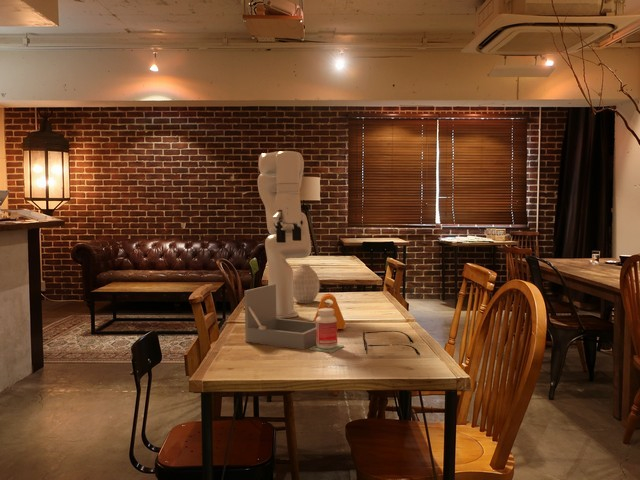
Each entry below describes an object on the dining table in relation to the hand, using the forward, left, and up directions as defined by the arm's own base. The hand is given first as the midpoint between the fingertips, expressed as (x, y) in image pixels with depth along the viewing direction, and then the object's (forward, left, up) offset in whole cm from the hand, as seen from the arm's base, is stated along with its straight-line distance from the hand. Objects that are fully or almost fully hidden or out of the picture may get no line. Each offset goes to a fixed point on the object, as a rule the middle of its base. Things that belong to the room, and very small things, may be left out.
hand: (289, 241), depth 177 cm
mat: (+20, -13, -30) cm, 39 cm away
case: (+5, -9, -30) cm, 32 cm away
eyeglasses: (+37, -5, -31) cm, 49 cm away
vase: (-25, +52, -31) cm, 65 cm away
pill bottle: (+20, -13, -30) cm, 38 cm away
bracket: (+9, +10, -31) cm, 33 cm away
